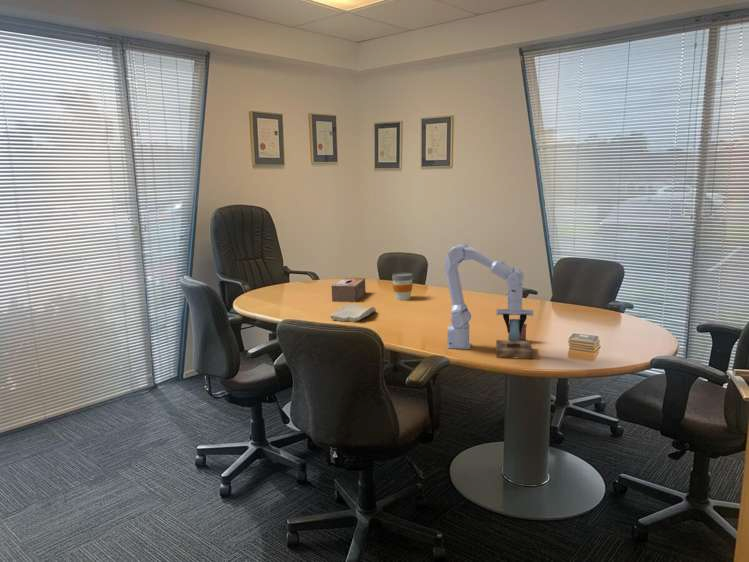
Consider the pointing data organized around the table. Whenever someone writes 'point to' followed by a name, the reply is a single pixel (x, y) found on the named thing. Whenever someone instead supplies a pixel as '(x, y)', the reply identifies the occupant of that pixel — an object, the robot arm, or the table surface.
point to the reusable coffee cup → (402, 285)
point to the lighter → (521, 334)
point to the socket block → (514, 349)
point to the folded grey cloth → (352, 313)
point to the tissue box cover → (348, 290)
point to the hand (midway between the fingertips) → (514, 332)
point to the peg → (514, 329)
